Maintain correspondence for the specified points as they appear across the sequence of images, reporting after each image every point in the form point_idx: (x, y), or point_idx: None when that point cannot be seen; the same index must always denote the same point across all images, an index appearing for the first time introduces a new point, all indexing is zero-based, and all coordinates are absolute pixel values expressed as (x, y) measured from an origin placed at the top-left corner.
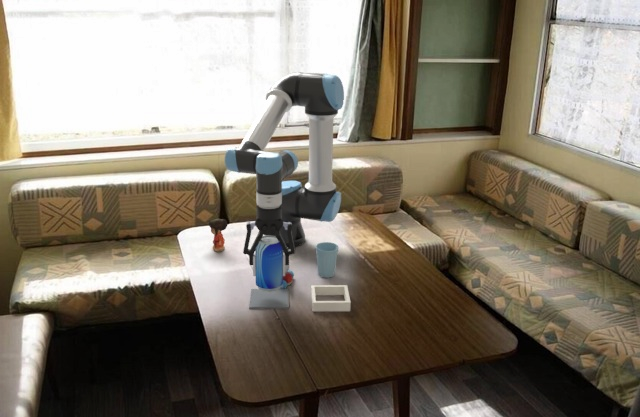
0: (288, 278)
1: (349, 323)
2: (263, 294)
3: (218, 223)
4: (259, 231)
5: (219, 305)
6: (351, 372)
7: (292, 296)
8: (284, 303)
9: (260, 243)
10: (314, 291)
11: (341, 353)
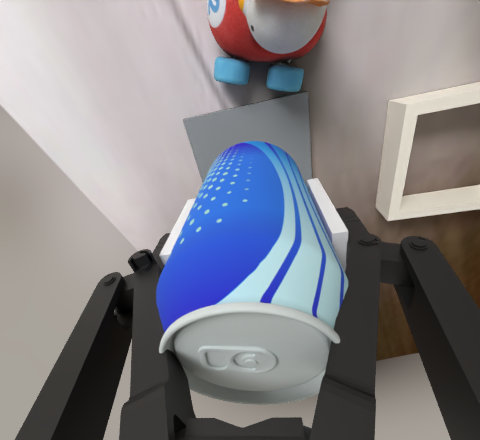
0: (311, 47)
1: (457, 242)
2: None
3: None
4: (134, 435)
5: (142, 213)
6: (407, 345)
7: (321, 133)
8: None
9: (200, 378)
10: (408, 154)
11: (404, 318)
